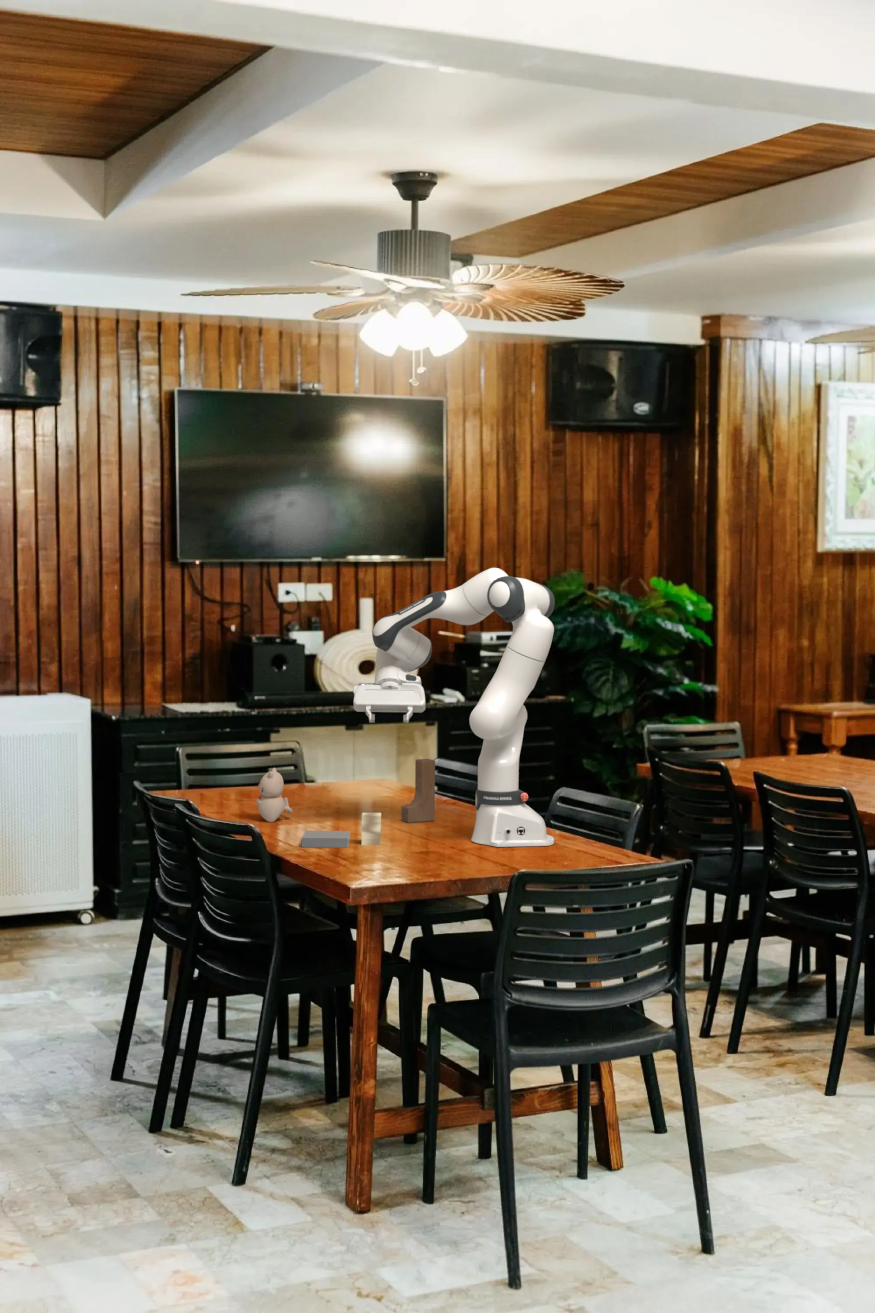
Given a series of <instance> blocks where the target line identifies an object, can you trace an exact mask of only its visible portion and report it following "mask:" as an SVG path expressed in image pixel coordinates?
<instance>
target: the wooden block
mask: <svg viewBox="0 0 875 1313" xmlns="http://www.w3.org/2000/svg"><path fill="white" fill-rule="evenodd" d="M414 772H415V774H414V776H415V780H414V782H415V783H414V784H415V785H414V789H415V790H414V797H413V799H412V800H411V802H410V803H408V804H405V805H402V806H401V808H400V809H401V810H400V811H401V812H400V813H401V815H400V818H401V821H402V822H404V823H407V824H414V823H415V824H416V823H426V822H427V823H428V822H434V821H435V820H436V819H435V816H436V814H435V811H436V807H435V806H436V805H435V803H436V797H435V796H436V792H435V791H436V790H435V789H436V760H434V759H431V758H420V759H419V758H418V759H415V771H414Z"/></svg>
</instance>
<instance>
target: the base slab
mask: <svg viewBox="0 0 875 1313" xmlns="http://www.w3.org/2000/svg"><path fill="white" fill-rule="evenodd" d="M350 841H351V831H350V830H305V831H304V833H303V835H302V837H301V848H318V849H319V848H325V849H326V848H327V849H329V848H332V849H337V848H338V849H341V848H343V849H348V847H349V846H350V845H349V844H350Z"/></svg>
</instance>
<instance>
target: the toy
mask: <svg viewBox="0 0 875 1313" xmlns="http://www.w3.org/2000/svg"><path fill="white" fill-rule="evenodd" d="M284 785H285V784H284V779H283V776H282V775H281V773H279V772H278V771H277V769H276V767H273V768H272V769H271V770H269V771H267V773H265V774H264V775H263V776H262V778H261V779H260V781H259V782H258V784H257V786H258V792H259V794H260V795H261V796H258V797H257V798H256V800H255V801H256V804H257V810H258V812H259V814H260V816H261V817H262V818H263V819H264V820H265V821H266V822H268V823H273V822H275V821H277V820H278V818H279V817H280V816H281V815H282V814H283V813H284V812H285V811H286V812H287V813H288V814H293V812H294V811H293V808H292V807H290V805H289V800H288V797H283V796H282V795H283V791H284Z"/></svg>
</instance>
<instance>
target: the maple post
mask: <svg viewBox="0 0 875 1313" xmlns="http://www.w3.org/2000/svg"><path fill="white" fill-rule="evenodd" d="M381 843H382V812H362V814H361V846H381Z"/></svg>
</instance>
